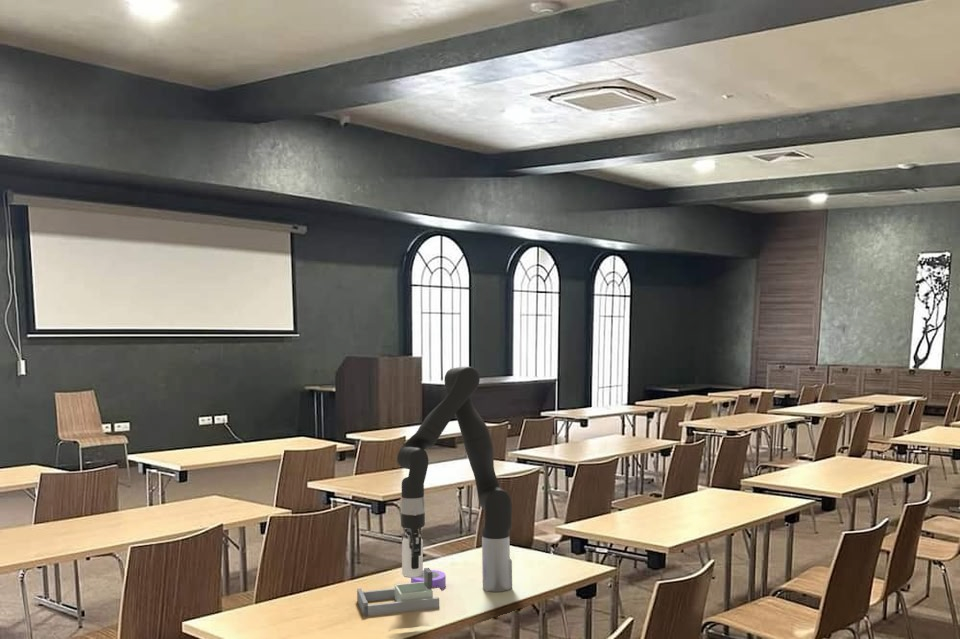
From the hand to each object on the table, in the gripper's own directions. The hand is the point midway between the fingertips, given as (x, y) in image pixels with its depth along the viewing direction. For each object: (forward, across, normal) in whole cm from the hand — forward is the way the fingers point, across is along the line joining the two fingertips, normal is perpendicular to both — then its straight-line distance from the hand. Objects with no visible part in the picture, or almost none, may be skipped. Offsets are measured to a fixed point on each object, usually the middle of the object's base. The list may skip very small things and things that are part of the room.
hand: (413, 565), depth 238 cm
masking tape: (+13, -19, +9) cm, 25 cm away
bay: (+13, 0, -5) cm, 13 cm away
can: (+3, -1, 0) cm, 3 cm away
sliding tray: (+11, 0, 0) cm, 11 cm away
